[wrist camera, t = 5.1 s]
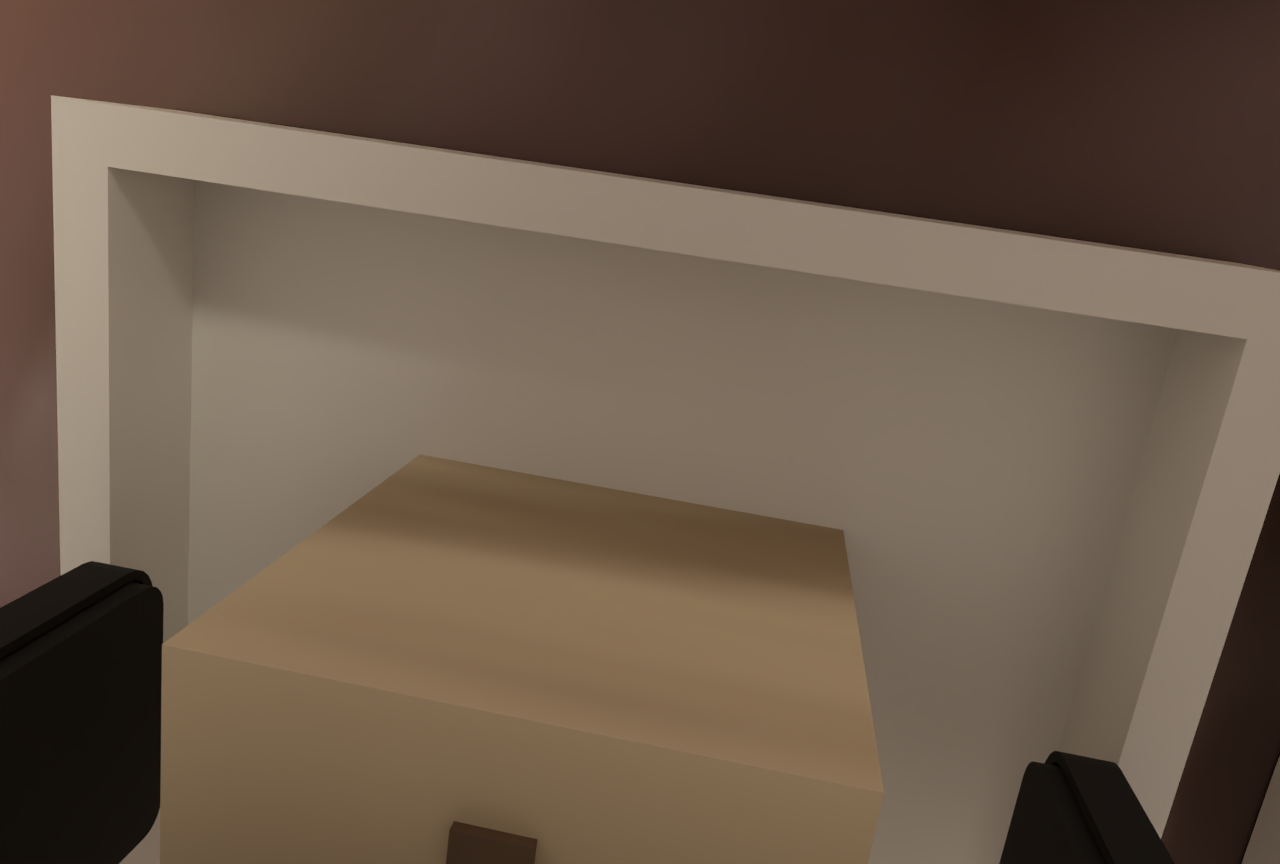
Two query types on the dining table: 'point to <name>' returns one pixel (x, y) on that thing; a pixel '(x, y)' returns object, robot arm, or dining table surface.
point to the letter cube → (525, 687)
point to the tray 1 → (687, 412)
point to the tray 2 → (1267, 827)
